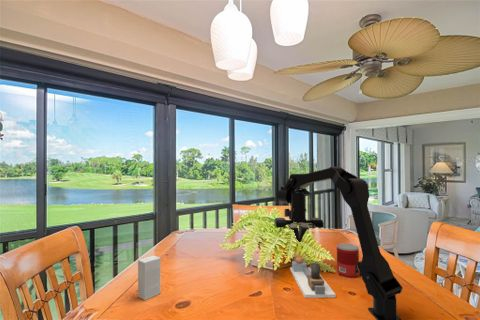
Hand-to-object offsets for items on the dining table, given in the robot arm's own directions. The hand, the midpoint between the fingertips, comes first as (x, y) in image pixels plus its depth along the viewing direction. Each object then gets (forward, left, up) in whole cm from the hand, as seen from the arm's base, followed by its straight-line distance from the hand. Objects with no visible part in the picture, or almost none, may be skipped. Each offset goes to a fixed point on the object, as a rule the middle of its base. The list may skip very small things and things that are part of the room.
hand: (298, 244), depth 105 cm
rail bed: (-8, -2, -11) cm, 14 cm away
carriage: (-15, -2, -10) cm, 18 cm away
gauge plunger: (0, 0, -7) cm, 7 cm away
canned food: (-1, -19, -12) cm, 23 cm away
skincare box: (-17, +54, -12) cm, 58 cm away
